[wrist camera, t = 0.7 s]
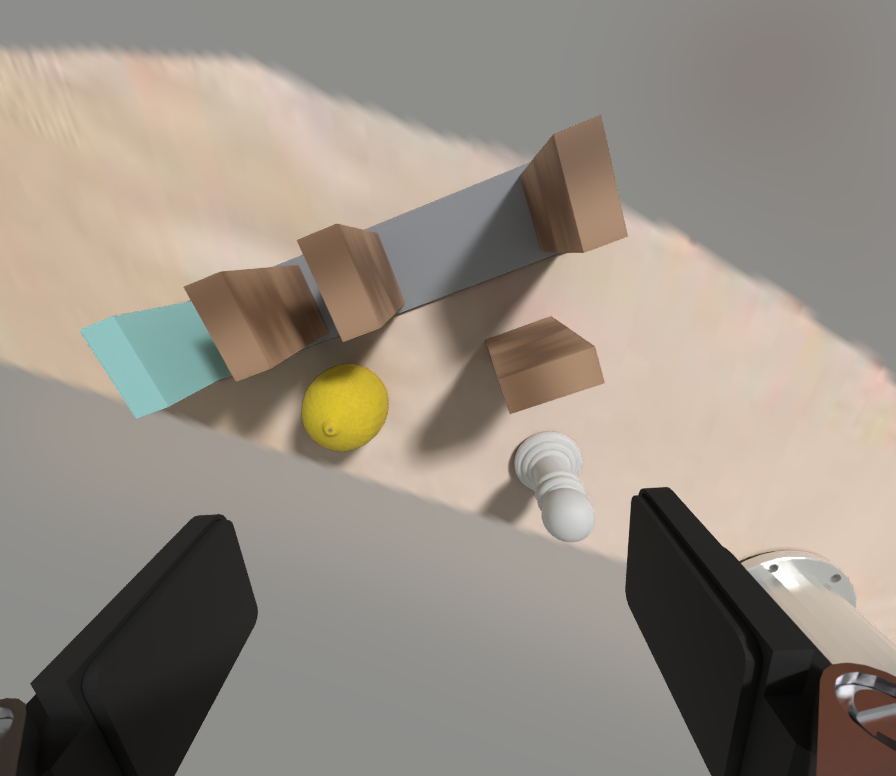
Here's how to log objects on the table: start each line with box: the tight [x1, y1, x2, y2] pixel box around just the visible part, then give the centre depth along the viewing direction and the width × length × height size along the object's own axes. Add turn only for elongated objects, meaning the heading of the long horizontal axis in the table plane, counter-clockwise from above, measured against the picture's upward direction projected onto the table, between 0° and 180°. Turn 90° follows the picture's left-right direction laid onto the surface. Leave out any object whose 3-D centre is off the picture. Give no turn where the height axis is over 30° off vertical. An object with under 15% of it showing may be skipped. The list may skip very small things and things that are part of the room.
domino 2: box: [297, 224, 405, 342], centre depth 24 cm, size 5×2×10 cm, turn 20°
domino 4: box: [486, 316, 605, 414], centre depth 26 cm, size 5×2×10 cm, turn 110°
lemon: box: [301, 364, 389, 451], centre depth 28 cm, size 6×6×8 cm
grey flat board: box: [188, 163, 562, 382], centre depth 29 cm, size 6×28×1 cm, turn 110°
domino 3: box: [520, 115, 628, 253], centre depth 23 cm, size 5×2×10 cm, turn 20°
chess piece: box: [514, 431, 595, 542], centre depth 29 cm, size 5×5×9 cm
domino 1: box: [184, 265, 329, 382], centre depth 25 cm, size 5×2×10 cm, turn 20°
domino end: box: [79, 301, 231, 419], centre depth 26 cm, size 5×2×10 cm, turn 20°
